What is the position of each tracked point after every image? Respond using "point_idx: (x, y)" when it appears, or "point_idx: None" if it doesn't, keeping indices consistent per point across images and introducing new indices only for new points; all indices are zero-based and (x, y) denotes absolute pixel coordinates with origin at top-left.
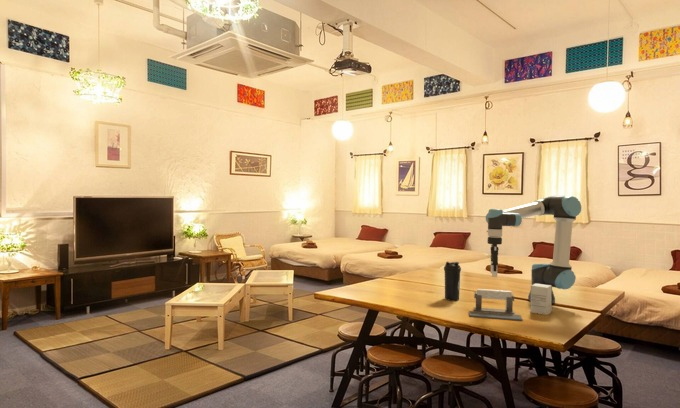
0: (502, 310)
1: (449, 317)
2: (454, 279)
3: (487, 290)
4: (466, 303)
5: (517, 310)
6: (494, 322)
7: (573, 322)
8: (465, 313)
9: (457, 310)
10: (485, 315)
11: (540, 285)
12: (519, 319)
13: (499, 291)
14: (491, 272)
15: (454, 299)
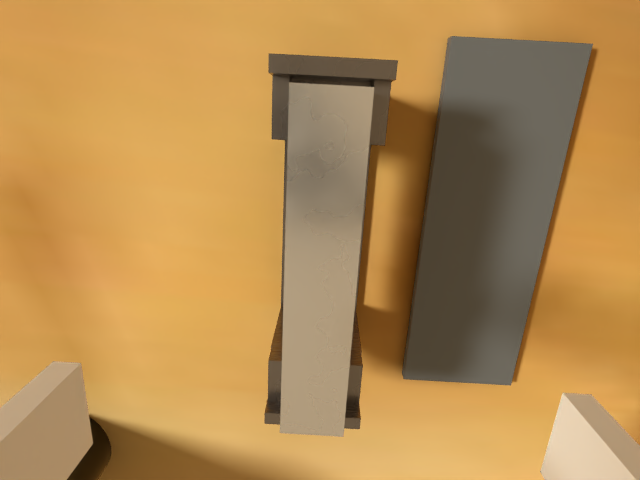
0: None
1: (538, 472)
2: None
3: (343, 349)
4: (152, 371)
5: (241, 26)
6: (634, 252)
7: None
8: (430, 393)
9: (365, 429)
10: (505, 296)
11: None
12: (585, 68)
13: (360, 231)
14: (79, 442)
15: (101, 439)
